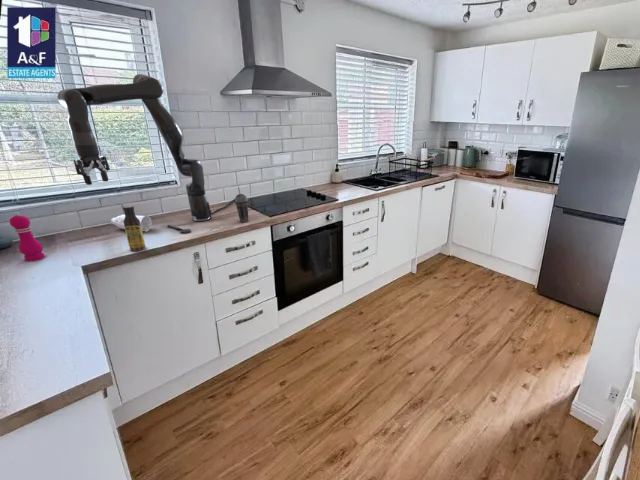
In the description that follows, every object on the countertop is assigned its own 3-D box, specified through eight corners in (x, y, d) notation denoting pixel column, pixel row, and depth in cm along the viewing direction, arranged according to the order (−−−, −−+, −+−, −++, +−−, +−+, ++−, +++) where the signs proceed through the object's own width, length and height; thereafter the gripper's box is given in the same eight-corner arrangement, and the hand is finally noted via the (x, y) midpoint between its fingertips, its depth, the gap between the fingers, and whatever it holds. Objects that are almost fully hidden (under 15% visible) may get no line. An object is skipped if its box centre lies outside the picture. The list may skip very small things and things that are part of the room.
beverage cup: (253, 219, 216) (248, 185, 207) (247, 223, 209) (242, 187, 200) (241, 219, 216) (236, 184, 207) (235, 222, 210) (229, 187, 201)
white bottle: (121, 226, 197) (117, 211, 194) (154, 228, 195) (150, 214, 192) (110, 230, 190) (105, 215, 187) (143, 233, 188) (139, 218, 185)
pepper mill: (28, 263, 151) (7, 215, 142) (21, 259, 155) (0, 212, 146) (49, 257, 157) (30, 211, 148) (42, 254, 160) (23, 208, 151)
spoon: (172, 225, 201) (172, 223, 200) (192, 231, 193) (192, 229, 193) (163, 228, 197) (163, 225, 197) (184, 234, 189) (183, 231, 189)
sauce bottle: (129, 252, 165) (116, 208, 156) (130, 247, 170) (118, 205, 161) (146, 250, 168) (134, 207, 159) (147, 246, 173) (135, 204, 164)
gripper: (78, 145, 147) (91, 186, 154) (107, 142, 160) (118, 180, 167) (61, 144, 148) (75, 185, 155) (91, 141, 161) (103, 179, 168)
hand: (97, 182), depth 161 cm, fingers open, 8 cm apart
